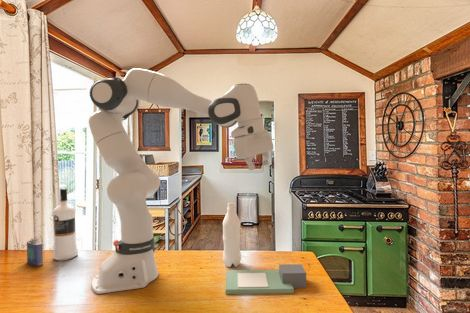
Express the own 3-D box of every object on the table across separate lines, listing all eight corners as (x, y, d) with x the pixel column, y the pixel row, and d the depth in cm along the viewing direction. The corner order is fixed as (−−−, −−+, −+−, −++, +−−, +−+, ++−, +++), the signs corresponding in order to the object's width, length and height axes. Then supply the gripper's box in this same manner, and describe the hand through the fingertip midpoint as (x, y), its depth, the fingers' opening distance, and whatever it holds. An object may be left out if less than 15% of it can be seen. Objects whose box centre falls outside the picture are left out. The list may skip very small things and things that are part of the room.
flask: (44, 264, 118) (43, 238, 117) (36, 267, 115) (35, 241, 115) (32, 260, 122) (31, 235, 122) (24, 263, 120) (23, 237, 119)
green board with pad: (225, 294, 93) (225, 278, 93) (226, 274, 107) (226, 261, 107) (309, 293, 93) (309, 277, 93) (299, 273, 107) (299, 260, 107)
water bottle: (239, 269, 112) (238, 205, 111) (221, 267, 113) (220, 204, 112) (242, 261, 119) (241, 201, 118) (225, 260, 120) (224, 200, 119)
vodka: (82, 255, 127) (79, 187, 126) (60, 262, 119) (57, 190, 118) (70, 251, 132) (68, 186, 131) (48, 258, 124) (46, 189, 123)
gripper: (259, 128, 113) (266, 163, 113) (227, 133, 96) (236, 173, 97) (273, 125, 109) (280, 161, 109) (242, 129, 92) (251, 171, 93)
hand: (259, 167), depth 103 cm, fingers open, 8 cm apart
